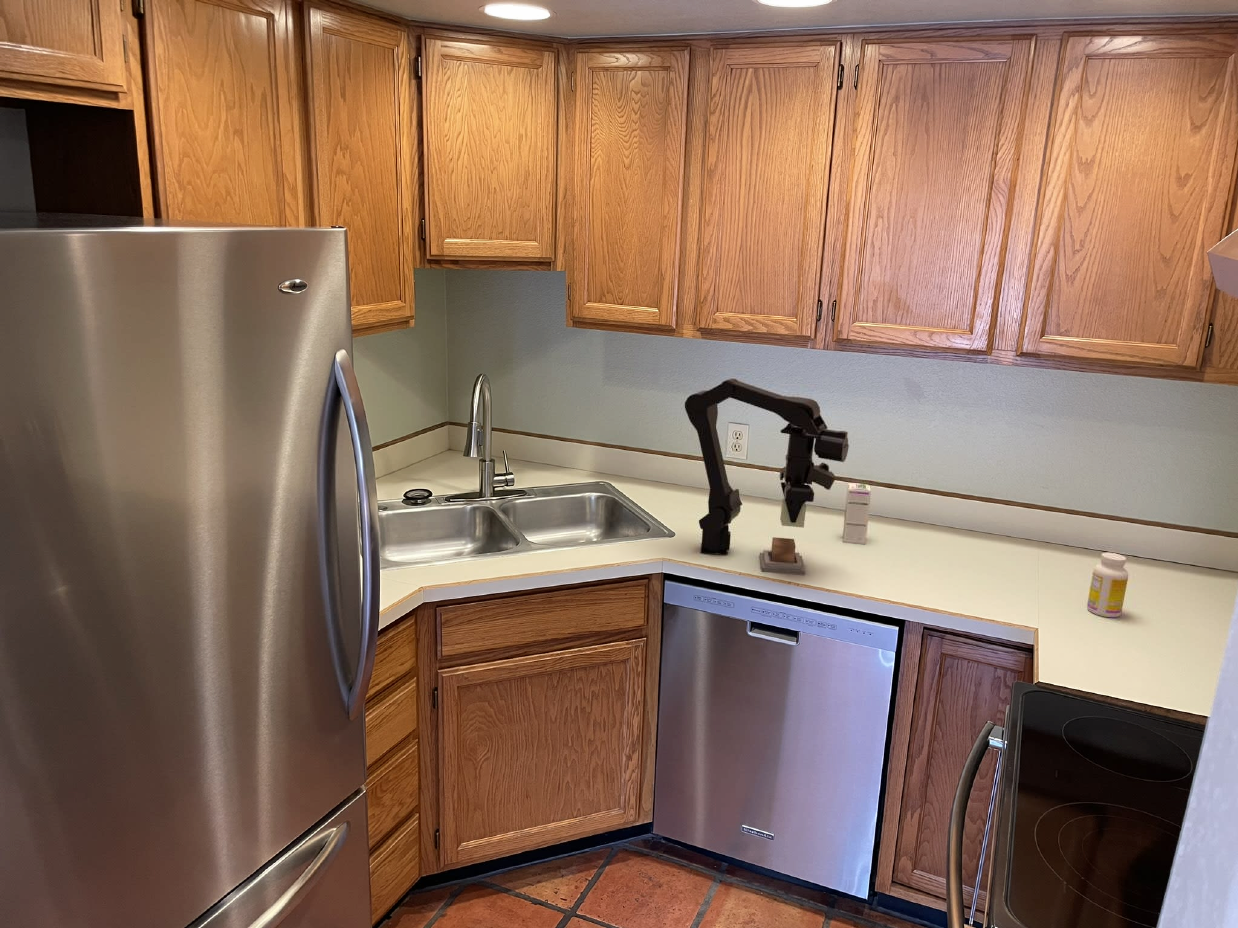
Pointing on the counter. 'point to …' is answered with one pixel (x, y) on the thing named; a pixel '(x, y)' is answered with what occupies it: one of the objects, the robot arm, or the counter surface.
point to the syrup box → (856, 513)
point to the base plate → (781, 564)
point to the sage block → (786, 519)
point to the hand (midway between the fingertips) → (792, 518)
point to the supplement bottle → (1108, 586)
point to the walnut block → (783, 550)
